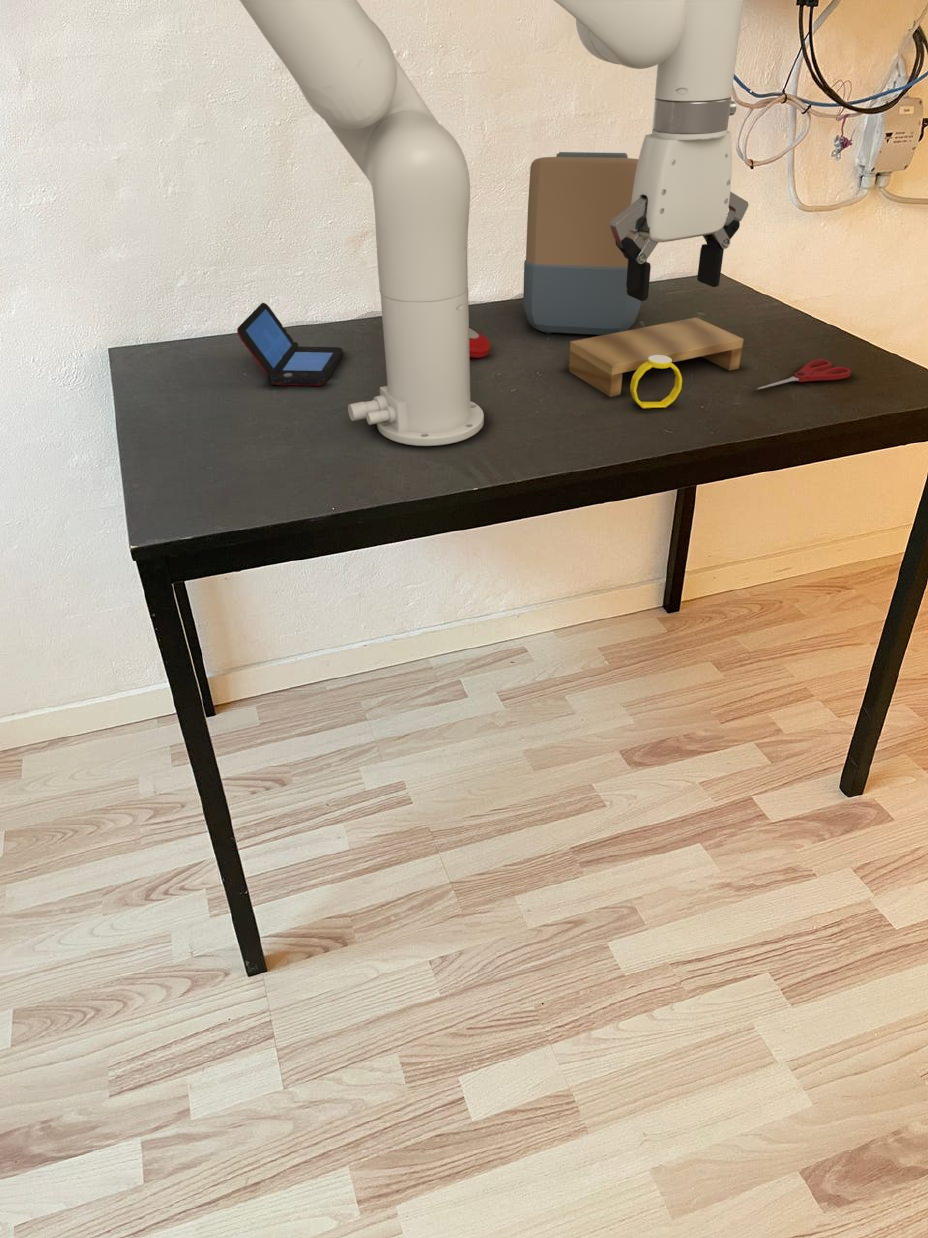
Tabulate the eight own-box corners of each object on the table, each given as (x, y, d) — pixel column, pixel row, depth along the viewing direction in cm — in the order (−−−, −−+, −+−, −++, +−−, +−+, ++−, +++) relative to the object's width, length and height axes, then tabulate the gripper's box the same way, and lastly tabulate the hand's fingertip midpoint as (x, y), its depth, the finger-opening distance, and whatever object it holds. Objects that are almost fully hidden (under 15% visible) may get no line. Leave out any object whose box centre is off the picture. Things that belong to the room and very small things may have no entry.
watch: (633, 413, 106) (638, 364, 103) (626, 404, 109) (630, 356, 105) (681, 408, 107) (687, 360, 104) (673, 400, 109) (678, 352, 106)
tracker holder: (506, 345, 123) (446, 343, 117) (496, 374, 126) (437, 373, 120) (462, 303, 130) (404, 299, 124) (453, 331, 132) (396, 328, 127)
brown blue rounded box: (643, 308, 139) (659, 140, 125) (634, 344, 126) (651, 161, 112) (537, 303, 142) (541, 139, 128) (518, 337, 129) (520, 159, 115)
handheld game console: (324, 388, 115) (318, 331, 111) (243, 386, 116) (233, 329, 112) (345, 354, 125) (340, 300, 121) (271, 353, 126) (262, 299, 122)
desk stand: (609, 397, 111) (612, 365, 108) (568, 371, 118) (570, 341, 116) (738, 368, 117) (743, 338, 115) (692, 345, 125) (695, 317, 122)
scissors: (853, 377, 114) (855, 369, 113) (772, 399, 108) (774, 392, 108) (820, 364, 117) (822, 356, 117) (741, 385, 112) (742, 377, 112)
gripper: (734, 106, 96) (713, 271, 106) (598, 122, 90) (589, 294, 101) (783, 114, 91) (755, 286, 101) (640, 131, 85) (627, 312, 95)
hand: (672, 290), depth 101 cm, fingers open, 9 cm apart
